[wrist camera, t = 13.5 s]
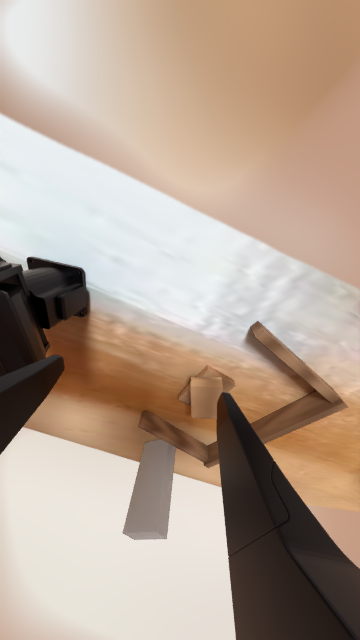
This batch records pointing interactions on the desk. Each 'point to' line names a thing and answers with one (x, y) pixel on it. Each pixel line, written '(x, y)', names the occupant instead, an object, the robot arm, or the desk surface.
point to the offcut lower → (206, 372)
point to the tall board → (151, 493)
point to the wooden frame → (269, 426)
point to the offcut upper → (205, 396)
